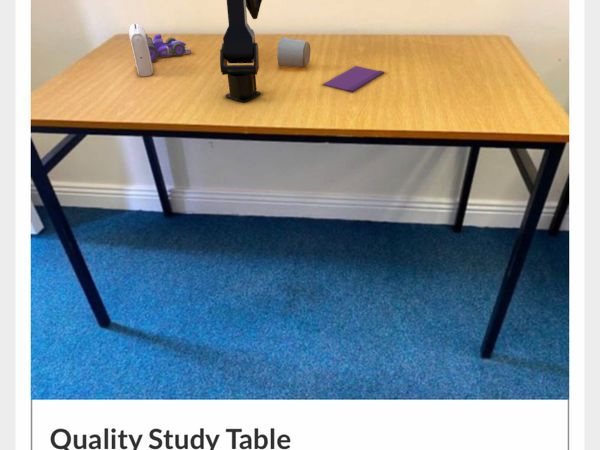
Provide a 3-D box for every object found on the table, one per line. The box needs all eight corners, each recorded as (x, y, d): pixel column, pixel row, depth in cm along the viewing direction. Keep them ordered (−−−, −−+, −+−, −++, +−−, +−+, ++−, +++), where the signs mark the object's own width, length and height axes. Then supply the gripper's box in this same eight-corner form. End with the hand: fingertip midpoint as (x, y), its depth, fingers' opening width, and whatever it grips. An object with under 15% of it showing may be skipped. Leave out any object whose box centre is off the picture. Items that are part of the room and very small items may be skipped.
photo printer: (154, 75, 131) (144, 29, 124) (138, 77, 131) (127, 31, 123) (152, 63, 139) (142, 19, 132) (137, 65, 138) (126, 21, 131)
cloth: (352, 92, 119) (352, 90, 118) (323, 85, 123) (323, 83, 123) (384, 73, 129) (384, 71, 128) (355, 67, 133) (355, 65, 133)
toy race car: (193, 54, 145) (189, 32, 141) (144, 64, 139) (139, 41, 135) (182, 46, 151) (179, 25, 147) (136, 55, 146) (130, 33, 142)
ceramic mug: (305, 71, 131) (305, 43, 126) (277, 70, 132) (275, 41, 128) (313, 59, 139) (313, 32, 134) (287, 58, 141) (286, 31, 136)
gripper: (296, -45, 127) (297, 17, 136) (244, -50, 136) (249, 8, 145) (269, -39, 120) (273, 26, 129) (217, -44, 129) (224, 16, 138)
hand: (255, 18), depth 136 cm, fingers closed
